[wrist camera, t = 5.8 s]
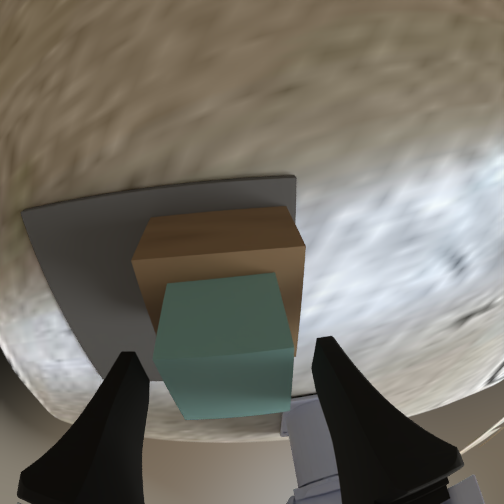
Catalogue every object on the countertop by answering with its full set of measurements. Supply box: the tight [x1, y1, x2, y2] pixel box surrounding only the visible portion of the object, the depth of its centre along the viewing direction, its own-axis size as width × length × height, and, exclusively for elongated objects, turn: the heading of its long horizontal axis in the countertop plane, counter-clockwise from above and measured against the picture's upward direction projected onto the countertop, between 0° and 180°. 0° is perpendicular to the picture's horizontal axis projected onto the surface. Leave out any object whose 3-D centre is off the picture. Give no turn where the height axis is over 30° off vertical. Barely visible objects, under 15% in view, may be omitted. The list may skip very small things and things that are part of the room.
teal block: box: [152, 272, 294, 420], centre depth 12 cm, size 4×4×4 cm
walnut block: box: [131, 206, 306, 357], centre depth 15 cm, size 7×7×4 cm
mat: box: [21, 175, 296, 381], centre depth 18 cm, size 16×16×1 cm
